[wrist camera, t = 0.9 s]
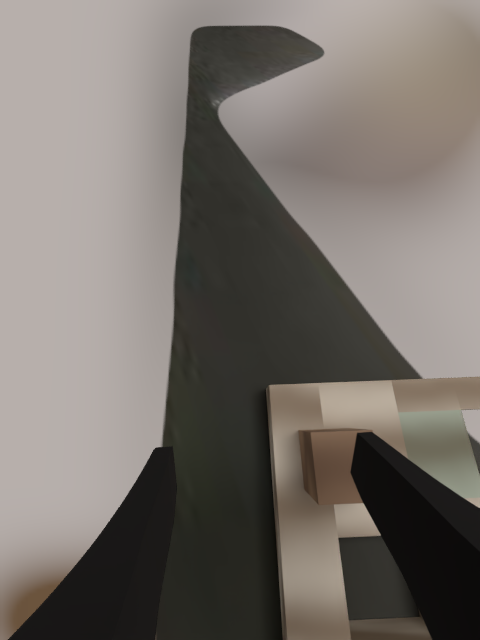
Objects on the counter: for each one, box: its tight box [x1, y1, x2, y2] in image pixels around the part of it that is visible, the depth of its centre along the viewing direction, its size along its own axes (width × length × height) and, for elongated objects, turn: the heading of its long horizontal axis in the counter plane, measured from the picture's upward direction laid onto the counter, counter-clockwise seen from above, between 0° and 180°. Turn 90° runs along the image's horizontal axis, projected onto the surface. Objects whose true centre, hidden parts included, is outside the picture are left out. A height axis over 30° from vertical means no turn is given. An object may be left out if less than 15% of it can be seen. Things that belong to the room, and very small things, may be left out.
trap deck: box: [266, 377, 480, 640], centre depth 21 cm, size 18×22×3 cm
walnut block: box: [298, 428, 373, 505], centre depth 19 cm, size 4×4×4 cm
